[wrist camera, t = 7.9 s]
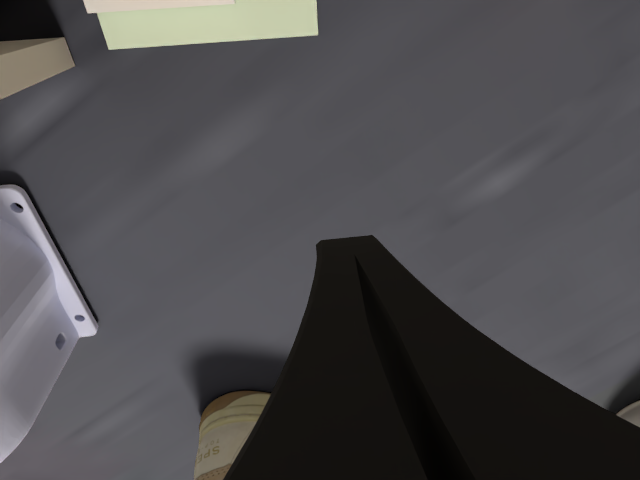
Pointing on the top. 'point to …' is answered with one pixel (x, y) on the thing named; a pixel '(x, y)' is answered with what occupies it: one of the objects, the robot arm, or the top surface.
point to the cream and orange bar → (146, 4)
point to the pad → (209, 23)
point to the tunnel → (31, 62)
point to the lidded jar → (631, 413)
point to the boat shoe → (226, 431)
